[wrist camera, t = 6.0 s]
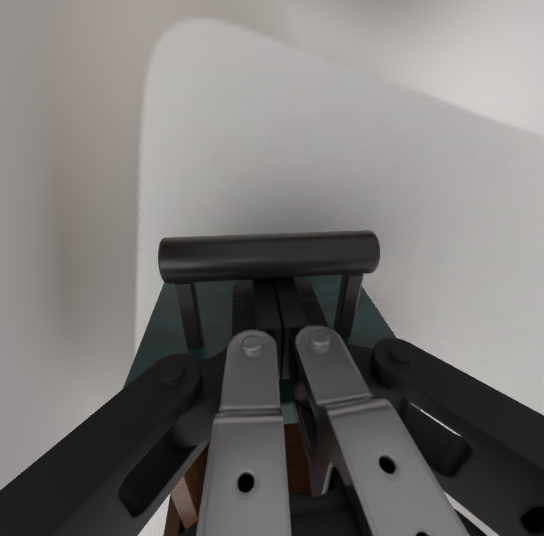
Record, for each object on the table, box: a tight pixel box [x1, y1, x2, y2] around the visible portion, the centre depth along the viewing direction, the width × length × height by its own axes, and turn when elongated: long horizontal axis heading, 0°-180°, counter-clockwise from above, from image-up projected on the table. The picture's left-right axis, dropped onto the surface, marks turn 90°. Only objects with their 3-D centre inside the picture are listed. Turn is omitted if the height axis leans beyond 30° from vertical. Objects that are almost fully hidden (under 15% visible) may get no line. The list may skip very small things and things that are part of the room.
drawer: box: [123, 230, 421, 530], centre depth 14 cm, size 18×10×8 cm, turn 179°
